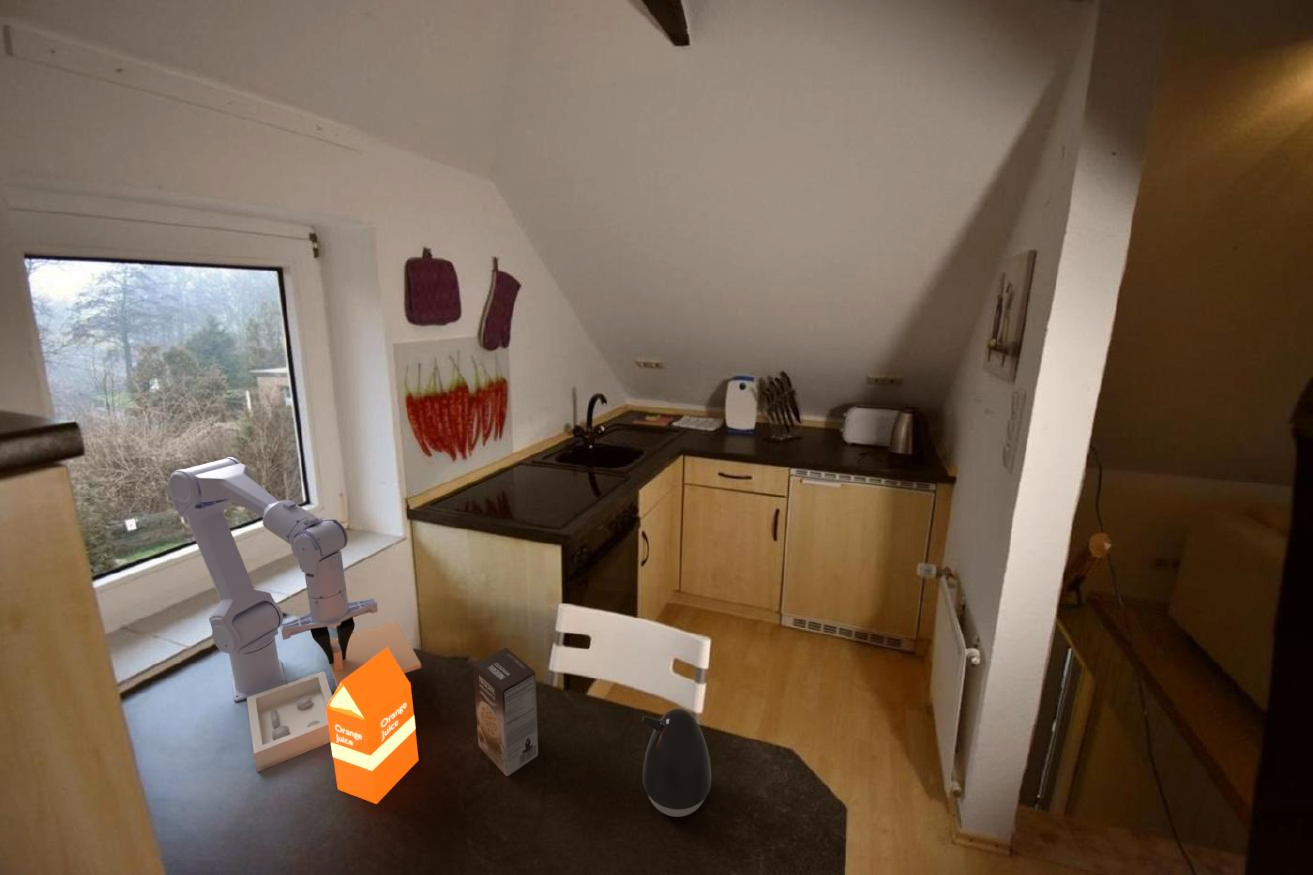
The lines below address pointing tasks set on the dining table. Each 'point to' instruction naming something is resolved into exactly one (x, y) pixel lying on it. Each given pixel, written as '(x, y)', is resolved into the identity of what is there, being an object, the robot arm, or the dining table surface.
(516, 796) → the dining table surface
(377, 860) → the dining table surface
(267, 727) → the parts tray
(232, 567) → the robot arm
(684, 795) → the pump dispenser
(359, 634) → the lid
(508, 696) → the coffee box
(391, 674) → the orange juice
